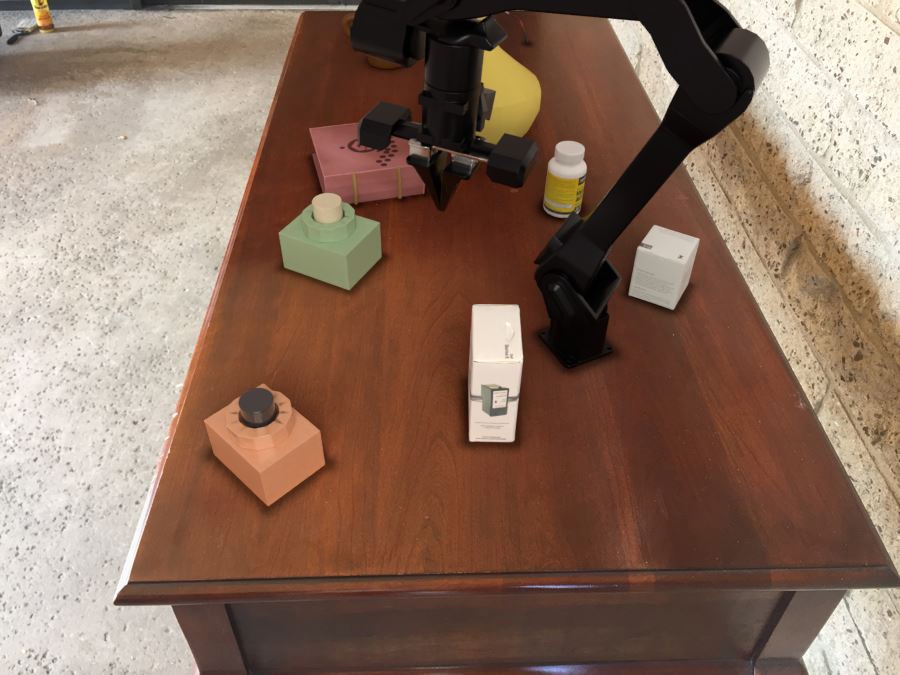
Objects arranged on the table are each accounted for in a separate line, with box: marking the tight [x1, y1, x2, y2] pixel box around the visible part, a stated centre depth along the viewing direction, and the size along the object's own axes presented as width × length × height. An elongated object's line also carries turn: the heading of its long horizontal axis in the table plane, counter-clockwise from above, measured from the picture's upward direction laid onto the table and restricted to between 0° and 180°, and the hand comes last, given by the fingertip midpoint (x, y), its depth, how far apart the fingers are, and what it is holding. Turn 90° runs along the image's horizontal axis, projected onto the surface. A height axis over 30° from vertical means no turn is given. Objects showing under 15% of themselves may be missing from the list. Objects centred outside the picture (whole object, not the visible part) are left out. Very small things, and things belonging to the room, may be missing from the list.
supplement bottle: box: [542, 140, 588, 219], centre depth 109 cm, size 5×5×10 cm
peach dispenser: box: [203, 383, 326, 507], centre depth 75 cm, size 9×7×7 cm
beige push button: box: [311, 192, 343, 224], centre depth 96 cm, size 4×4×2 cm
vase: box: [476, 17, 542, 144], centre depth 120 cm, size 18×18×19 cm
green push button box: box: [278, 202, 383, 291], centre depth 99 cm, size 10×8×8 cm
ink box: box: [467, 303, 524, 443], centre depth 79 cm, size 9×5×12 cm, turn 0°
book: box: [308, 122, 426, 205], centre depth 116 cm, size 14×15×5 cm
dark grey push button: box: [238, 387, 277, 428], centre depth 73 cm, size 3×3×2 cm
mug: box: [340, 12, 402, 70], centre depth 145 cm, size 12×8×9 cm, turn 92°
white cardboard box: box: [628, 224, 700, 311], centre depth 96 cm, size 6×6×7 cm
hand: (442, 209), depth 88 cm, fingers closed
